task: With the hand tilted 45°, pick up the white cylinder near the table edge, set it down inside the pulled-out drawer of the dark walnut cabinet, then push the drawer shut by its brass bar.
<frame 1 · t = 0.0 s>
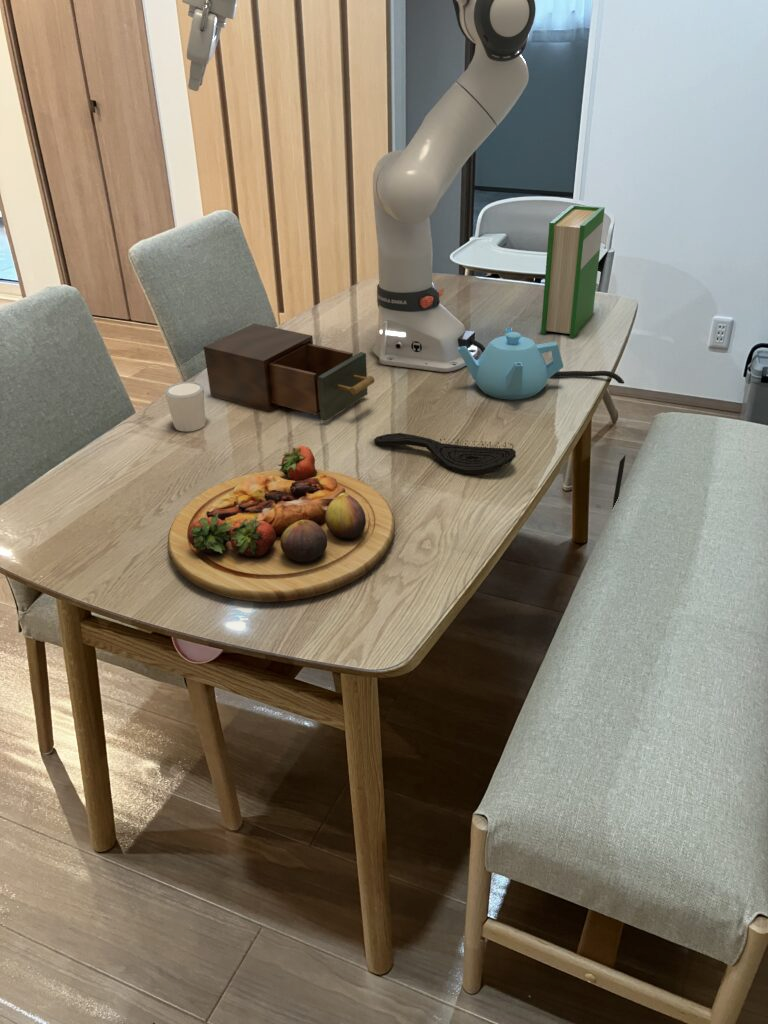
hand: (194, 87, 147), 52 cm above the table, tool tilted 20°, fingers open, 8 cm apart
teapot: (508, 388, 160), on the table
cabinet: (264, 390, 162), on the table
hairbrush: (441, 457, 137), on the table
hardback book: (567, 324, 189), on the table
drawer: (325, 381, 152), point 5 cm above the table, slide at 11.5 cm
white cylinder: (190, 425, 150), on the table
wooden plate: (283, 537, 118), on the table
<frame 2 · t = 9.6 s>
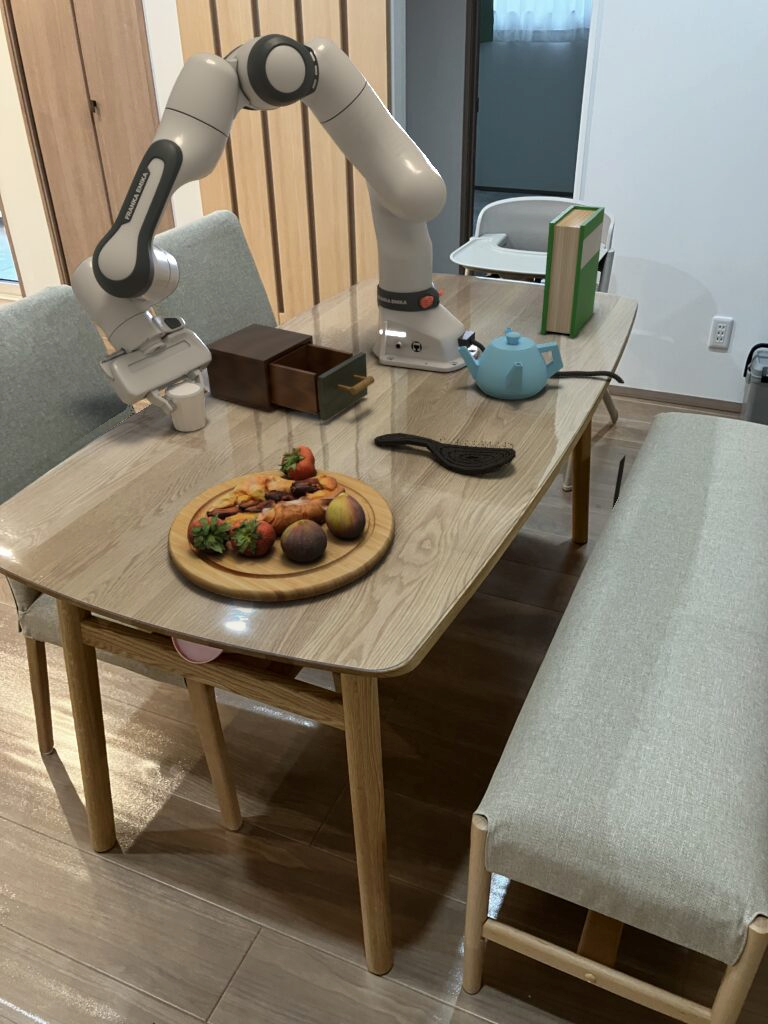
hand: (189, 403, 147), 4 cm above the table, tool tilted 45°, fingers closed on white cylinder, 7 cm apart
white cylinder: (190, 425, 150), on the table, touching gripper
everything else where it was.
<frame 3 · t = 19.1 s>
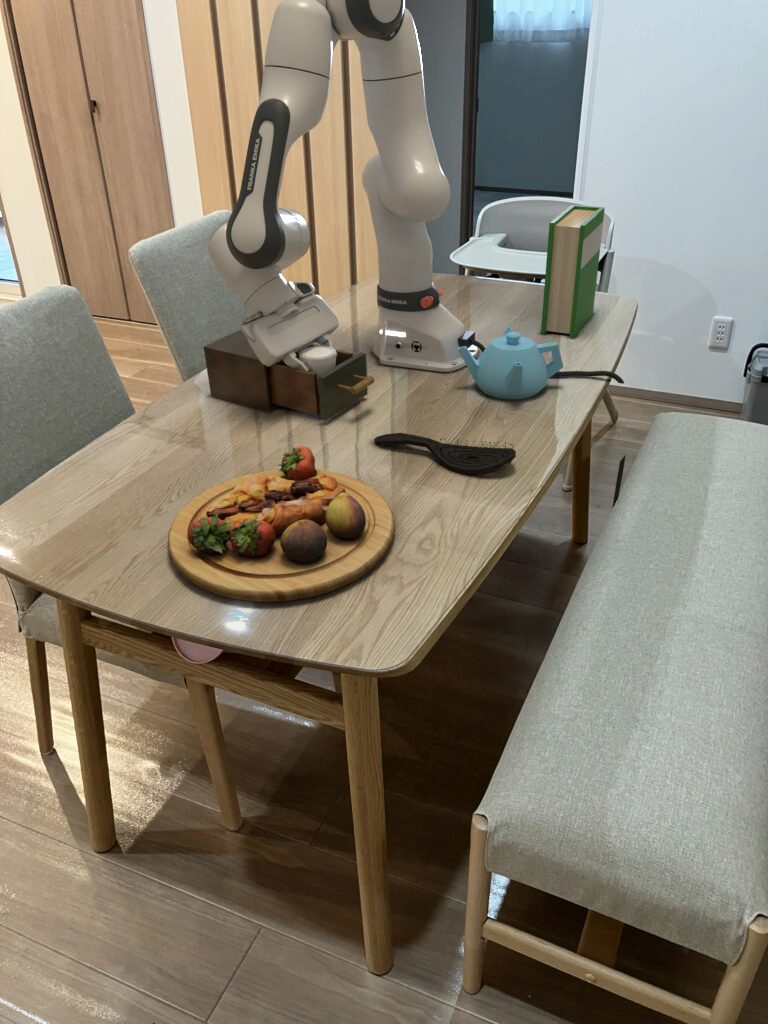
hand: (321, 366, 151), 8 cm above the table, tool tilted 45°, fingers closed on white cylinder, 7 cm apart
drawer: (325, 381, 152), point 5 cm above the table, slide at 11.5 cm, touching gripper
white cylinder: (319, 388, 154), point 3 cm above the table, touching gripper
everything else where it was.
when the fingers open (9 cm above the table, at t = 24.2 s): white cylinder stays where it is, resting on drawer.
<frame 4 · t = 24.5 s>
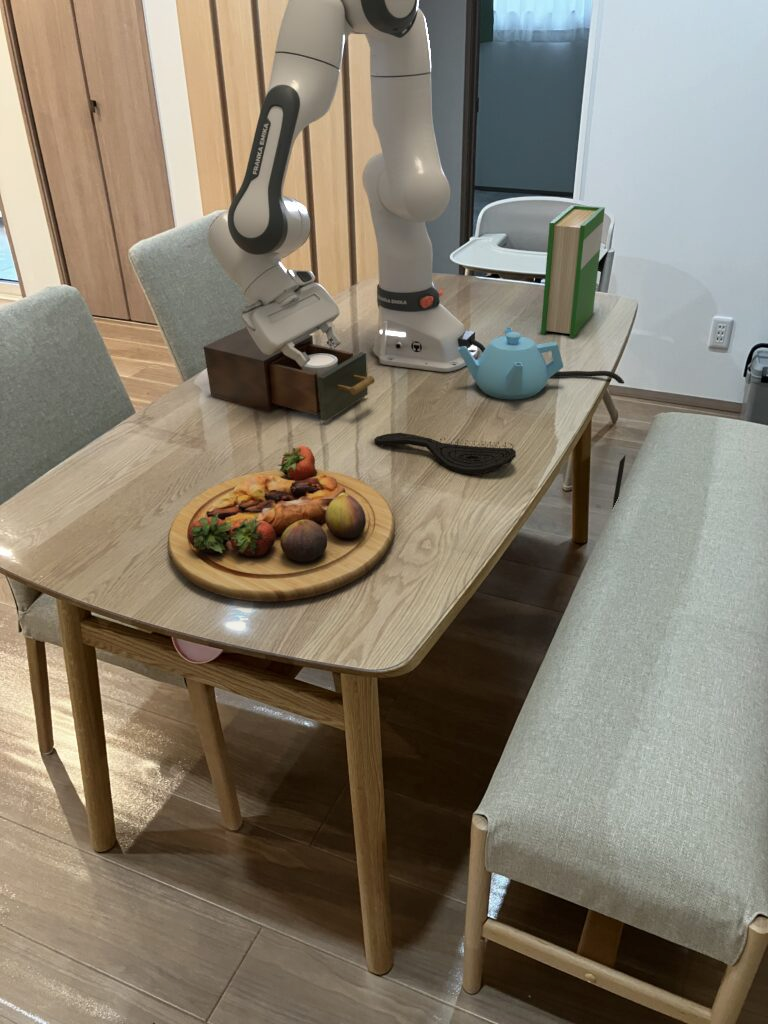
hand: (321, 354, 150), 10 cm above the table, tool tilted 45°, fingers open, 8 cm apart
drawer: (325, 381, 152), point 5 cm above the table, slide at 11.5 cm, touching white cylinder
white cylinder: (321, 396, 155), point 2 cm above the table, touching drawer
everything else where it was.
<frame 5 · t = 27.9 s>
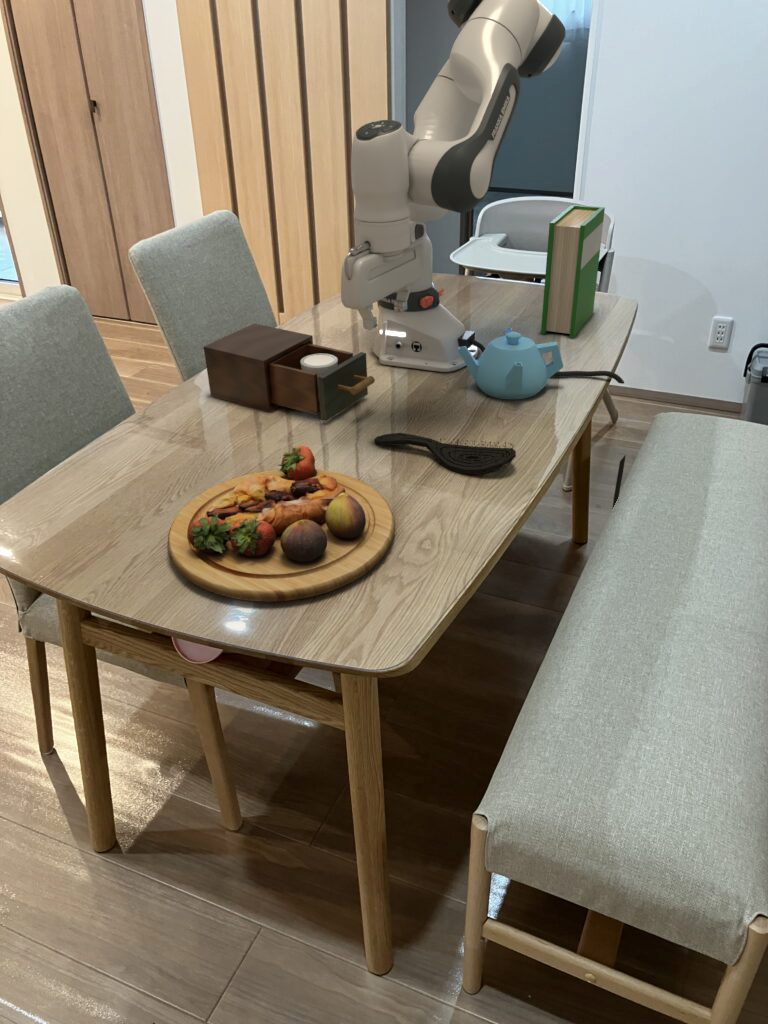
hand: (385, 319, 138), 19 cm above the table, tool pointing down, fingers open, 8 cm apart
nothing on the table moved.
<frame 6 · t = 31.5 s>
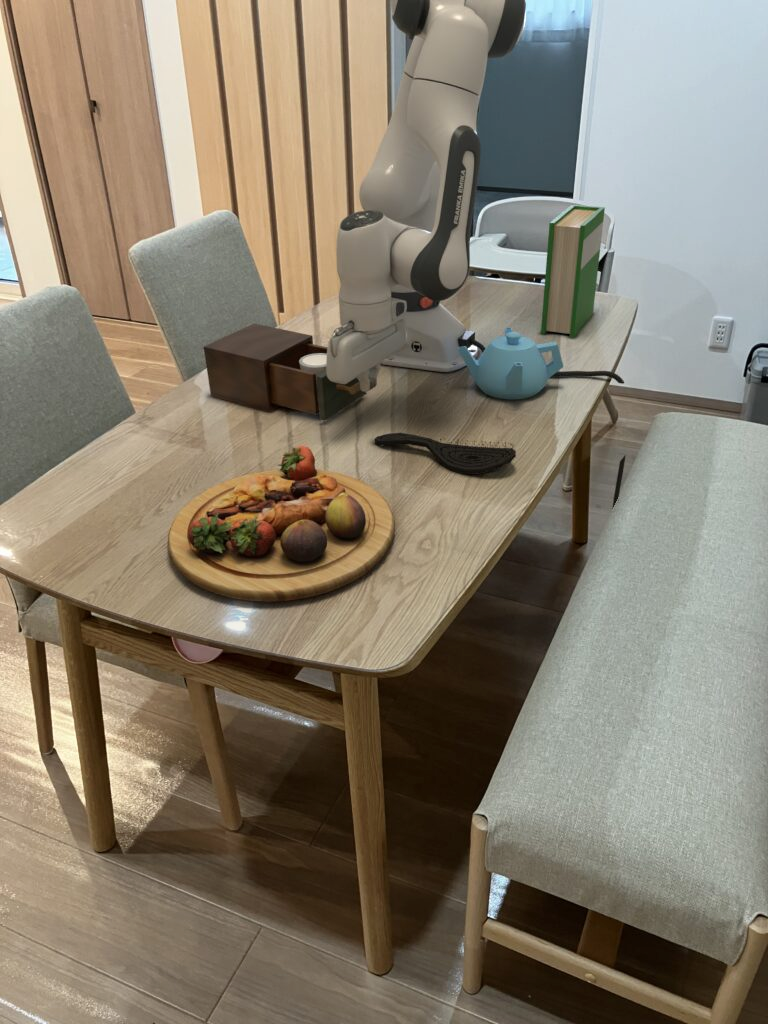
hand: (368, 388, 147), 6 cm above the table, tool pointing down, fingers closed, pressing on drawer
drawer: (324, 381, 152), point 5 cm above the table, slide at 11.2 cm, touching gripper, white cylinder
everything else where it was.
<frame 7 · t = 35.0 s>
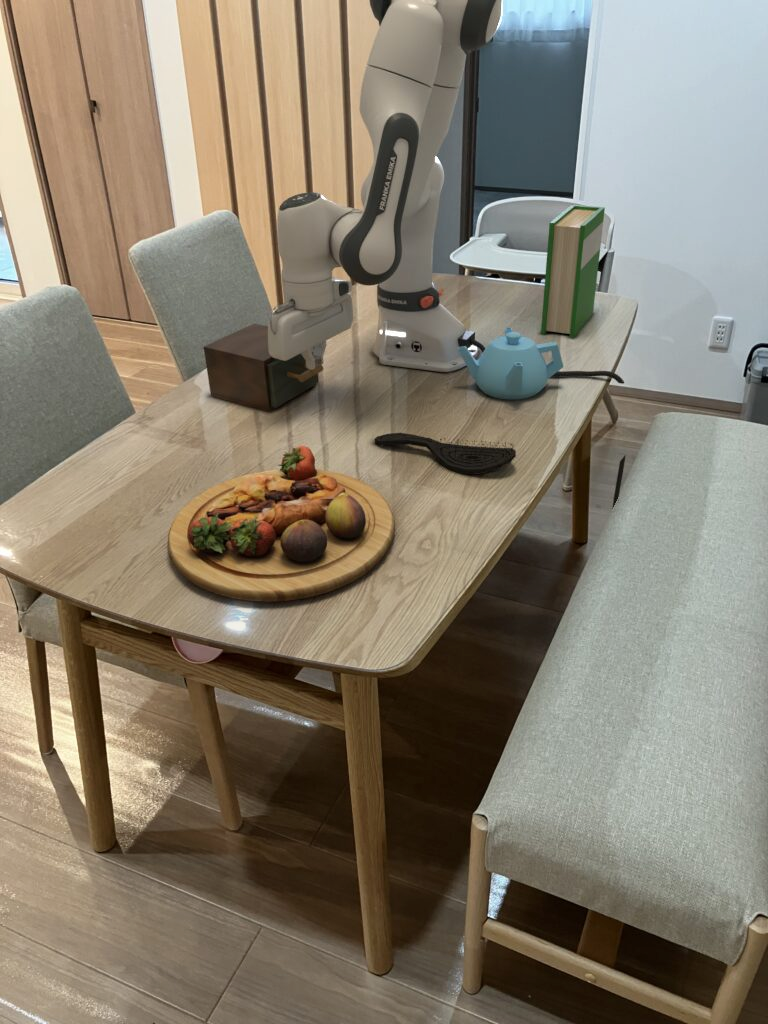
hand: (314, 366, 152), 7 cm above the table, tool pointing down, fingers closed
drawer: (276, 369, 158), point 5 cm above the table, slide at 0.0 cm, touching cabinet, white cylinder
white cylinder: (273, 384, 160), point 2 cm above the table, touching drawer
everything else where it was.
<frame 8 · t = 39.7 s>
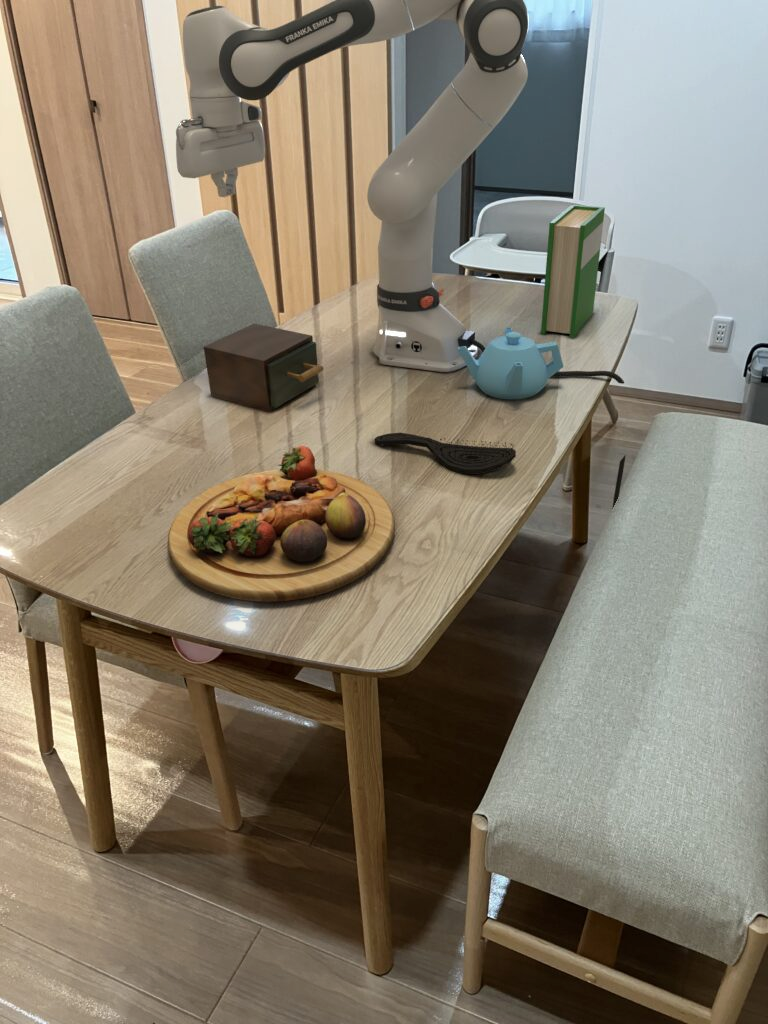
hand: (227, 195, 154), 34 cm above the table, tool pointing down, fingers closed
drawer: (277, 369, 157), point 5 cm above the table, slide at 0.0 cm, touching white cylinder
everything else where it was.
at the end: white cylinder inside the target area in the cabinet (2.5 cm from its centre), point 1.8 cm above the cabinet's base; drawer slide at 0.0 cm; white cylinder tilted 0° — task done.
